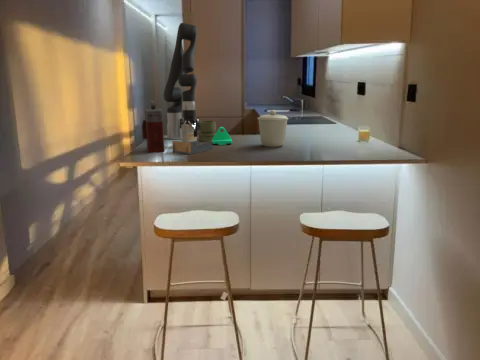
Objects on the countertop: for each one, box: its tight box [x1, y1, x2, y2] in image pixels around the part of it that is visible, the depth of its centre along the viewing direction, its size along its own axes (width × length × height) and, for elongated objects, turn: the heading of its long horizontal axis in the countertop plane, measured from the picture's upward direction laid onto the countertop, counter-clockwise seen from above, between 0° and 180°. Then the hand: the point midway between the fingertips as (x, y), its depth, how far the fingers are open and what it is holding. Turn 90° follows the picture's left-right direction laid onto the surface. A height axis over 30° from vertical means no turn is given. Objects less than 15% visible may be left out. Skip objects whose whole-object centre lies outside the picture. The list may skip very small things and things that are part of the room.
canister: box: [257, 109, 289, 148], centre depth 269 cm, size 18×18×21 cm
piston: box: [197, 120, 217, 143], centre depth 294 cm, size 11×12×11 cm
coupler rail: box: [172, 140, 214, 155], centre depth 257 cm, size 12×20×6 cm, turn 143°
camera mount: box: [211, 126, 233, 146], centre depth 279 cm, size 12×8×10 cm, turn 95°
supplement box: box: [181, 124, 198, 142], centre depth 273 cm, size 8×5×13 cm, turn 141°
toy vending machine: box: [141, 100, 165, 154], centre depth 254 cm, size 9×11×28 cm
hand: (190, 136), depth 273 cm, fingers open, 8 cm apart
